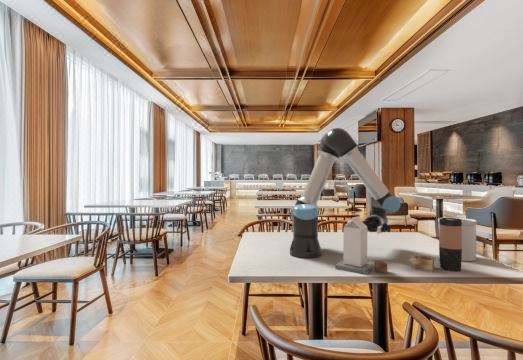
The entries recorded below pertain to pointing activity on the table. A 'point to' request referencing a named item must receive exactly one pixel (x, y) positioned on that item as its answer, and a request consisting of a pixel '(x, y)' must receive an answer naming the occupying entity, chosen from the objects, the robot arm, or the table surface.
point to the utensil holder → (468, 239)
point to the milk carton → (355, 243)
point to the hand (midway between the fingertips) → (361, 229)
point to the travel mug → (450, 243)
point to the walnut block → (380, 267)
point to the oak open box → (423, 263)
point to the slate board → (355, 267)
